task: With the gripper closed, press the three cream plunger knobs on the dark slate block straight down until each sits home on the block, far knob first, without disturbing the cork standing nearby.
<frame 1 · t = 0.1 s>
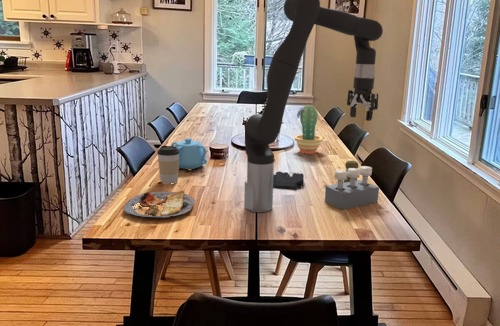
hand: (360, 118, 175), 29 cm above the table, tool pointing down, fingers open, 8 cm apart
knob far: (365, 178, 170), point 8 cm above the table, slide at 0.0 cm
knob middle: (352, 180, 167), point 8 cm above the table, slide at 0.0 cm
dark slate chunk: (277, 184, 190), on the table
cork: (350, 187, 187), on the table
food plate: (160, 209, 159), on the table
potted cactus: (307, 152, 244), on the table
knob near: (340, 182, 164), point 8 cm above the table, slide at 0.0 cm
coffee cup: (169, 182, 188), on the table
decorative pot: (188, 167, 211), on the table
mount block: (351, 201, 169), on the table
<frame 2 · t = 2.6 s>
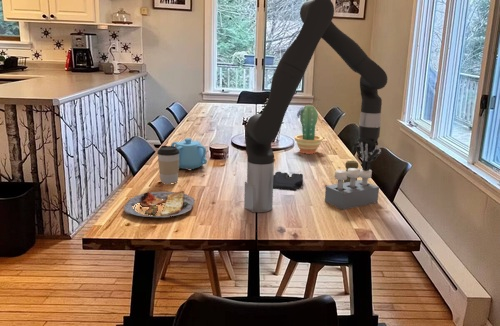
hand: (365, 170, 169), 12 cm above the table, tool pointing down, fingers closed
knob far: (364, 181, 170), point 7 cm above the table, slide at 1.0 cm, touching gripper
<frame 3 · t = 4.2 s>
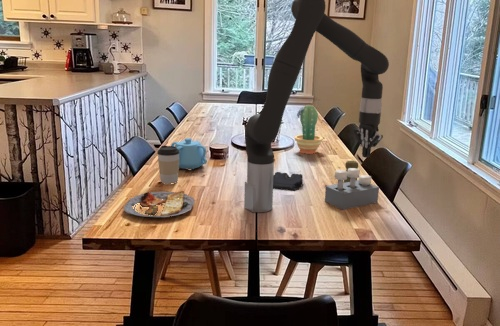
hand: (365, 157, 167), 17 cm above the table, tool pointing down, fingers closed
knob far: (364, 187, 171), point 5 cm above the table, slide at 3.5 cm
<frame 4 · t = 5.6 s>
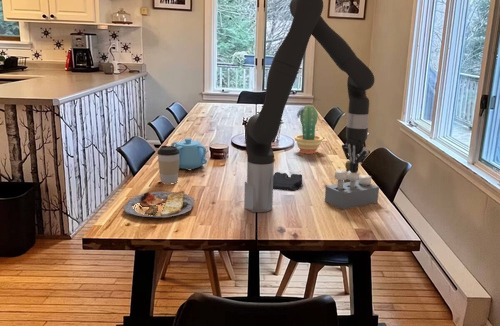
hand: (353, 172, 166), 12 cm above the table, tool pointing down, fingers closed
knob middle: (352, 183, 167), point 7 cm above the table, slide at 1.0 cm, touching gripper
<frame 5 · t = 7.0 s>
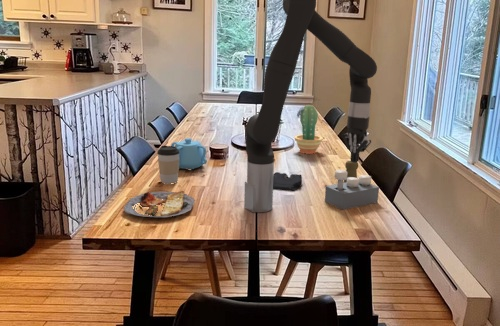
hand: (354, 162, 165), 15 cm above the table, tool pointing down, fingers closed
knob middle: (352, 189, 168), point 5 cm above the table, slide at 3.5 cm
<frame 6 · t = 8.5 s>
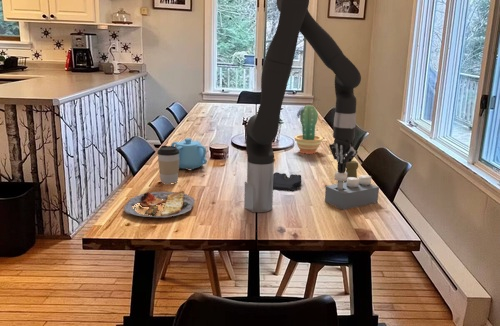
hand: (341, 172, 163), 12 cm above the table, tool pointing down, fingers closed
knob near: (340, 183, 164), point 8 cm above the table, slide at 0.3 cm, touching gripper
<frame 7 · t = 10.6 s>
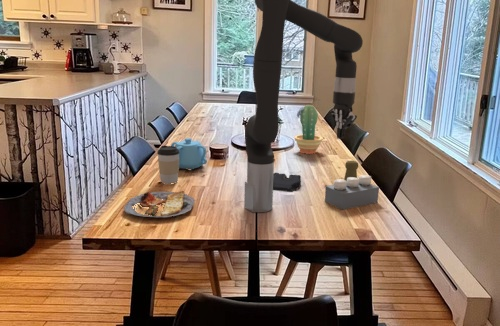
hand: (340, 138, 164), 24 cm above the table, tool pointing down, fingers closed
knob near: (339, 192, 165), point 5 cm above the table, slide at 3.5 cm
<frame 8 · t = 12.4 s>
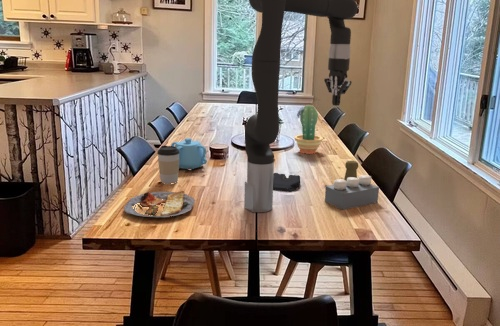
hand: (335, 105, 167), 35 cm above the table, tool pointing down, fingers closed
at the end: knob far slide at 3.5 cm; knob middle slide at 3.5 cm; knob near slide at 3.5 cm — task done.
